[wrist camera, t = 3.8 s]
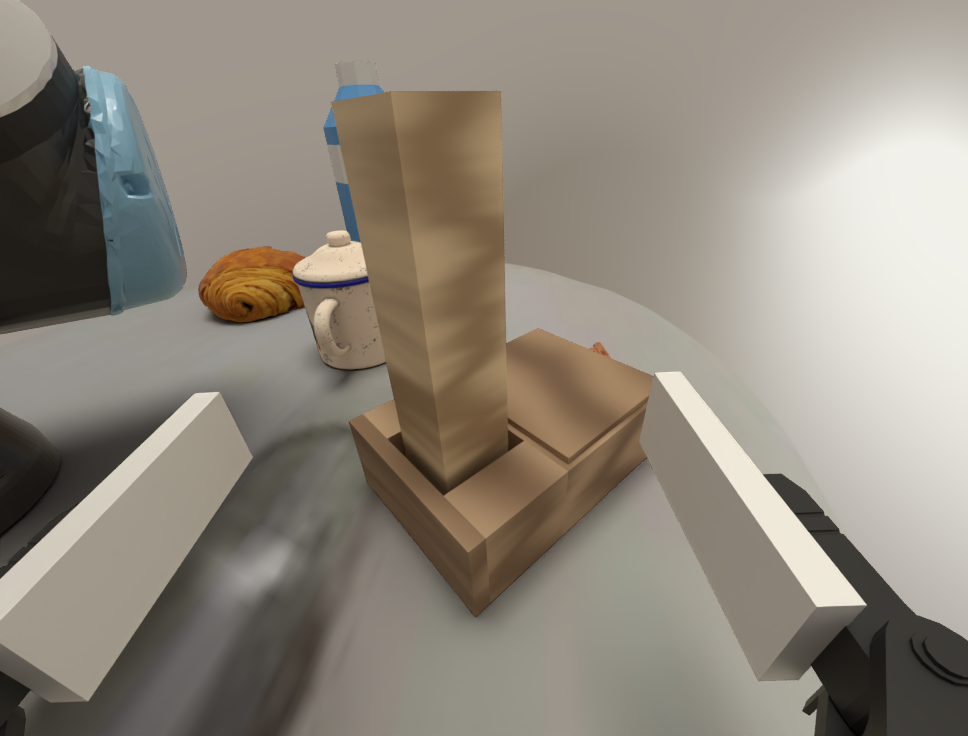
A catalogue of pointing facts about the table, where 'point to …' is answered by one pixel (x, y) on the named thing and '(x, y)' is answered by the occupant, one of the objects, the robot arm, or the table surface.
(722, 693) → the table surface
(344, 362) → the teacup with lid
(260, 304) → the croissant
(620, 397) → the wooden sliding lid box
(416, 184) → the wooden key peg
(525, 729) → the table surface
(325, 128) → the water bottle
